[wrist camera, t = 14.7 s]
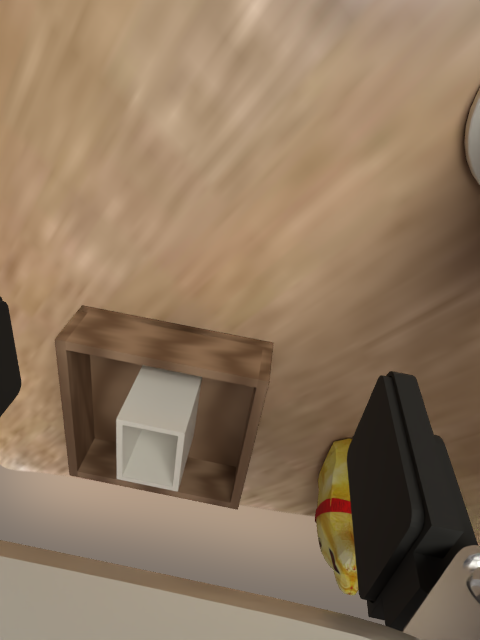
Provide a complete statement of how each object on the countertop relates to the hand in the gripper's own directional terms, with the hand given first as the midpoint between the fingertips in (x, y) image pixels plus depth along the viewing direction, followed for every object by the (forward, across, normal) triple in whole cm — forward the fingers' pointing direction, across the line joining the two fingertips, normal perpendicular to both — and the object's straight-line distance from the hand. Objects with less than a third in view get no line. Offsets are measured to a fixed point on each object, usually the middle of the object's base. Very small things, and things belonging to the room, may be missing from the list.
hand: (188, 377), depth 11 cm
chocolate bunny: (+28, -16, +35) cm, 48 cm away
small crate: (+27, +6, +29) cm, 40 cm away
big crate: (+28, +6, +29) cm, 41 cm away
